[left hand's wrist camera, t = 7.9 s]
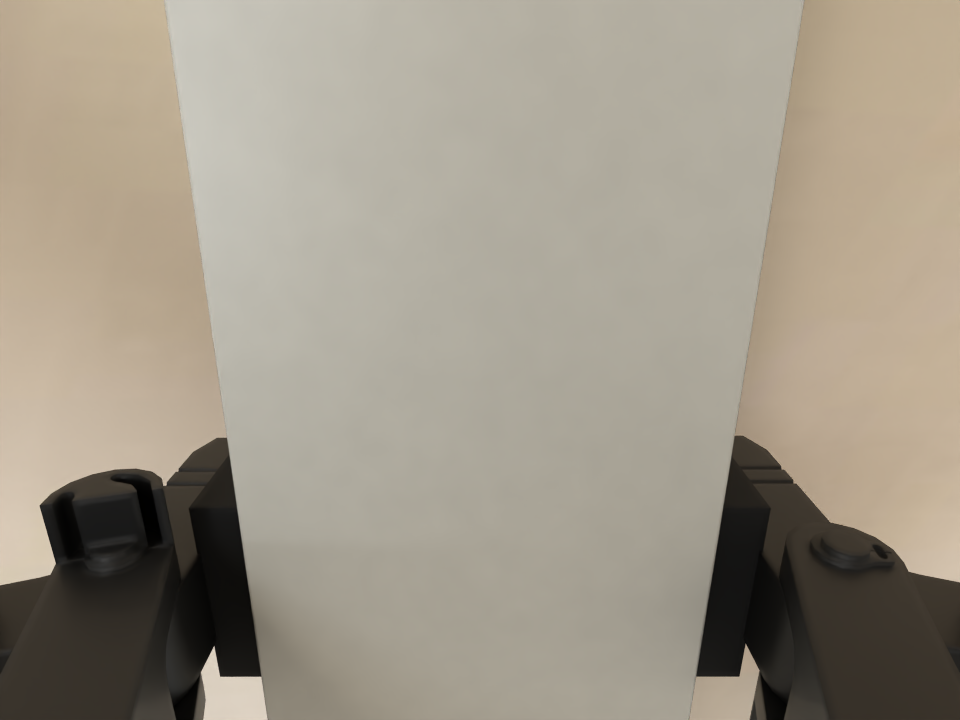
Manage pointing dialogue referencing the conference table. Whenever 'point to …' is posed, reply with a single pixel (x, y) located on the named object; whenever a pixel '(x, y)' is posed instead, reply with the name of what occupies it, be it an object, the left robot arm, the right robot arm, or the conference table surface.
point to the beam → (481, 335)
